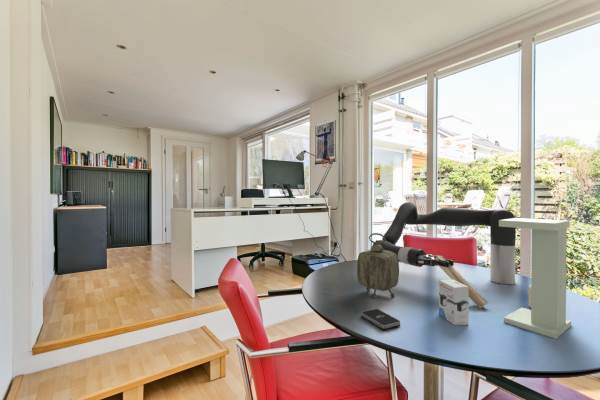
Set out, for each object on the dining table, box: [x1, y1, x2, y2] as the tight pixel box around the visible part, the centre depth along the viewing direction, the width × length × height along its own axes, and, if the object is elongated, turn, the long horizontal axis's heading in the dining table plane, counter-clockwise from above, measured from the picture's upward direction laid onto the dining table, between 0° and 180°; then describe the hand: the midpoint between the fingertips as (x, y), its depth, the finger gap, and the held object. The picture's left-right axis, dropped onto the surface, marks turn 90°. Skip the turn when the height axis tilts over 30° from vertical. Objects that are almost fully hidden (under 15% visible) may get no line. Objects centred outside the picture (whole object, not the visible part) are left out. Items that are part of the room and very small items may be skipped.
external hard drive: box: [360, 308, 401, 332], centre depth 89 cm, size 7×11×2 cm, turn 25°
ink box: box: [438, 278, 470, 326], centre depth 90 cm, size 8×5×12 cm, turn 5°
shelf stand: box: [499, 217, 572, 339], centre depth 87 cm, size 14×14×32 cm
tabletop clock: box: [356, 232, 400, 299], centre depth 111 cm, size 14×9×25 cm, turn 47°
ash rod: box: [435, 255, 488, 309], centre depth 106 cm, size 3×22×3 cm
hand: (450, 263), depth 109 cm, fingers closed on ash rod, 2 cm apart
